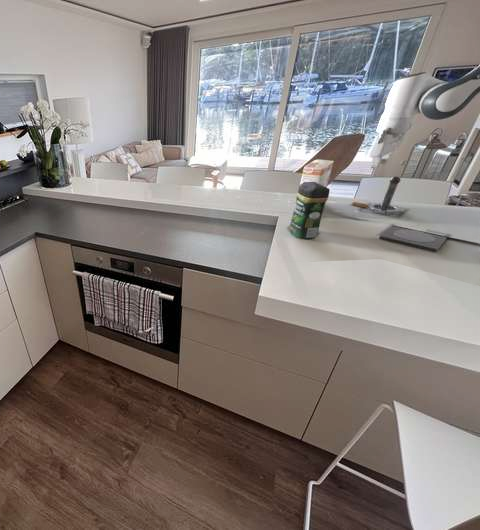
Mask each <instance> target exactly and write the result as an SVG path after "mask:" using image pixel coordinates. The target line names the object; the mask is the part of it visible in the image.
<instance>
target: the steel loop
mask: <svg viewBox="0 0 480 530" xmlns="http://www.w3.org/2000/svg"><path fill="white" fill-rule="evenodd" d="M351 203H352V204H351V206H355V207H360V208H365V209H366V208H367V210H368V211H370V212H372V213H376V214H381V215H398V214H399V213H400V212H401V210H402V208H401V207H399V206H398V205H394V204H390V205H389V207H388V210H382V209H380V207H381V204H382V202H380V203H379V202H378V203H377V202H376V203H375V202H374V203H366V202H360V201H353V202H351Z"/></svg>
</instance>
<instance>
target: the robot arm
mask: <svg viewBox="0 0 480 530" xmlns="http://www.w3.org/2000/svg"><path fill="white" fill-rule="evenodd" d="M479 93H480V64H479V65H478V66H477V67H475V68H474V69H472V70H471V71H470V72H467V73H466V74H465V75H464V76H462V77H459V78H458V79H455V80H453V81H450V82H449V81H445V80H441V79H439V78H436V77H435V76H433V75H430V74H429V73H428V72H426V71H422V72H421V71H420V72H416V73H411V74H408V75H403V76H402V77H399V78H398V79H397V80H395V82H394V83H393V85H392V87H391V89H390V91H389V93H388V96H387V98H386V101H385V104H384V110H383V113H382V114H381V116H380V118H379V121H378V124H377V127H376V130H375V132H376V133H378V134H377V135H376V136H375V138H374V140H373V143H372V145H371V147H370V150H369V153H368V157H369V158H372V160H371V165H370V169H373V170H376V169H378V168H379V166H380V165H385V164H387V163H388V160H389V159H390V157H391V155H392V153H393V152H396V151H398V149H399V148H400V146H401V145H402V142H403V141H404V138H405V137H406V134H407V133H408V132H409V130H410V129H411V127H412V122H413V118H414V117H415V115H416V114H421V115H423V116H424V117H425V118H427V119H429V120H433V121H440V120H445V119H449V118H451V117H453V116H455V115H458V114H459V113H460V112H462V111H463V110H464V109H465V108H466V107H467V106H468V104H470V102H471V101H472V100H473V99H474V98H476V96H477V95H478V94H479Z"/></svg>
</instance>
